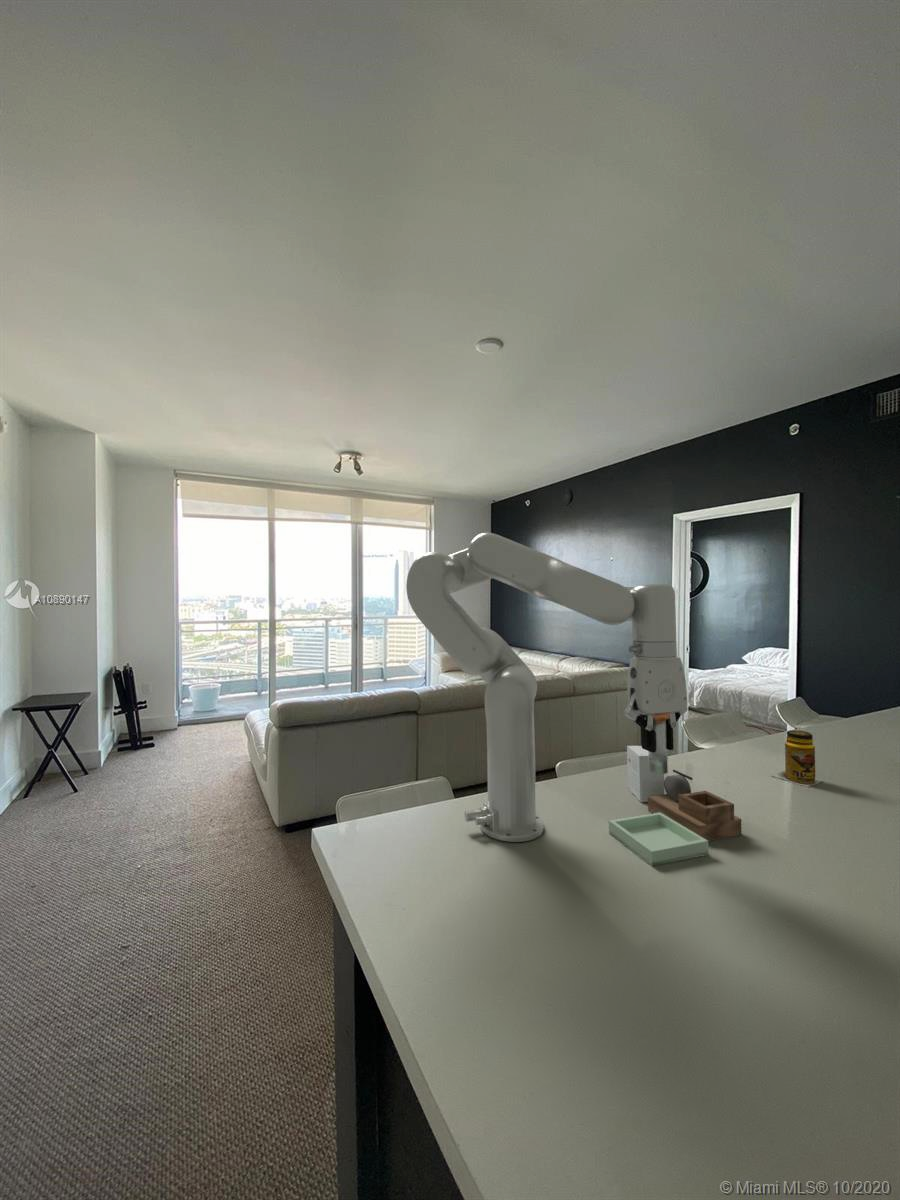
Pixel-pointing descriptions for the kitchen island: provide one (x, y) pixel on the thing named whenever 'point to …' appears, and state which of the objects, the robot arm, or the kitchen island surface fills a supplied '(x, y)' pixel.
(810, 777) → the condiment
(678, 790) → the brown wooden stepped holder
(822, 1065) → the kitchen island surface
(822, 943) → the kitchen island surface
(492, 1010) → the kitchen island surface
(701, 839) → the tray
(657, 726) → the lock pin
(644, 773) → the small box
